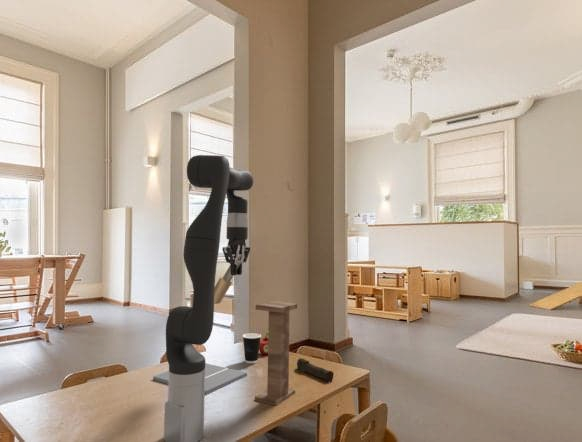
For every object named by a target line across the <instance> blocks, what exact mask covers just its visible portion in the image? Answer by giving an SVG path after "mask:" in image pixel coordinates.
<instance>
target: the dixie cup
mask: <svg viewBox="0 0 582 442" xmlns="http://www.w3.org/2000/svg"><path fill="white" fill-rule="evenodd" d="M261 338H262V335H261V333H253V332H252V333H244V334H242V339H243V351H244V360H245V363H246V364H256V363H258V360H259V354H260V351H259V345H260V339H261Z"/></svg>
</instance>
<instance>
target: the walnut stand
mask: <svg viewBox="0 0 582 442" xmlns="http://www.w3.org/2000/svg"><path fill="white" fill-rule="evenodd" d="M296 309H298V303H294V302H293V303H291V302H284V301H275V300H274V301H273V300H271V301H267V302H264V303H258V304H255V310H257V311H262V312H263V311H266V312H268V324H267V325H268V330H267V331H268V335H267V338H268V354H267V385H266V386H267V388H266V389H267V390H263V392H261V393H259V394H257V395H255V396H254V401H257V402H261V403H265V404H267V405H268V404H269V405H272V406H277V405H279V404H280V403H282V402H283V401H285V400H287V399H288V398H290V397H291V396H293V395H294V394H296V390H295V389H292V388H289V385H290V384H289V381H290V379H289V376H290V372H289V371H290V311H292V310H296Z"/></svg>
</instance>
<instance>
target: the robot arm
mask: <svg viewBox="0 0 582 442" xmlns="http://www.w3.org/2000/svg"><path fill="white" fill-rule="evenodd" d="M186 177H187V179H188V182H189V183H190V184H191V185H192V186H194V187H195V188H199V189H211V191H210V193H209V194H210V195H209V197H208V200H207V202H206V204H205V206H204V208H202V209H201V211H200V212H199V214H198V215H197V216H196V217H195V218H194V220H193V221H192V222H191V224H190V225H189V227H188V229H187V230H186V233H185V239H184V244H183V260H184V265H185V268H186V270H187V273H188V275H189V278H190V281H191V284H192V288H193V289H192V290H193V293H192V295H193V296H192V298H193V299H192V306H184V305H183V306H182V305H180V306H176V307H174V308H173V309H172V310H171V311H170V312H169V314H168V316H167V319H166V324H165V355H166V361H167V363H168V364H167V365H168V371H169V383H168V384H167V385H168V387H167V389H168V390H167V391H168V392H167V401H166V402H165V403H164V419H163V420H164V423H163V441H164V442H199V441H200V440H202V439H203V438H204V435H205V434H204V433H205V395H206V394H205V363H206V358H205V356H204V355H203V354H201V353H200V352H199V351H198V350H197V349H196V348H195V346H196V345H197V346H202V345H204V344H205V343H206V342H207V341H209V340H210V337H211V335H212V332H213V326H214V319H215V318H214V315H215V304H214V287H215V286H216V284H215V283H216V276H217V275H216V274H217V263H218V258H219V253H220V252H219V251H220V244H221V243H220V242H221V232H222V222H223V221H222V220H223V214H224V213H223V212H224V206H225V202H226V198H227V218H226V235H225V236H226V239H227V240H228V242H227V246H223V247H222V253H223V257H224V259H225V261H226V263H228V264H229V266H230V265H231V268H230V270H231V271H230V273H231V275H234V276H237V275H238V276H241V275H242V273H243V264H244V263H246V262H247V260H248V258H249V254H250V251H251V247H248V246H247V243H246V241H247V240H248V238H249V237H248V234H249V229H248V228H249V217H248V203H249V201H248V199H247V198H246V197H242V196H239V195H237V194H236V193H235V192H237V191H238V192H239V191H240V192H244V191H249V190H251V189H252V187H253V185H254V177H253V175H252V173H251V172H250V171H248V170H245V169H243V170H241V169H235V168H234V167H231V166H230V162H229V159H228V158H227V157H226V156H224V155H215V154H214V155H211V154H210V155H209V154H207V155H205V154H198V155H197V154H196V155H193V156H191V158H190V159H188V162H187V165H186ZM237 258H239V259H240V260H241V261H242V262H241V264H240V266H239V267H238V269H237V265H236V264H237ZM194 345H195V346H194Z"/></svg>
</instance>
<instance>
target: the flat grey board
mask: <svg viewBox="0 0 582 442" xmlns="http://www.w3.org/2000/svg"><path fill="white" fill-rule="evenodd" d="M245 377H248V373H247V372H245V371H241V370H237V369H232V368H228V367H224V366H219V365H215V364H211V363H210V364H209V363H206V362H205V395H206V396H207V395H209V394H211V393H214V392H215V391H218V390H219V389H222V388H224V387H226V386H228V385H230V384H233V383H234V382H237V381H239V380H241V379H243V378H245ZM152 380H153V381H156V382H159V383H162V384H167V385H168V383H169V370H167V371H164V372H162V373H159V374H156V375H153V376H152Z"/></svg>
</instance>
